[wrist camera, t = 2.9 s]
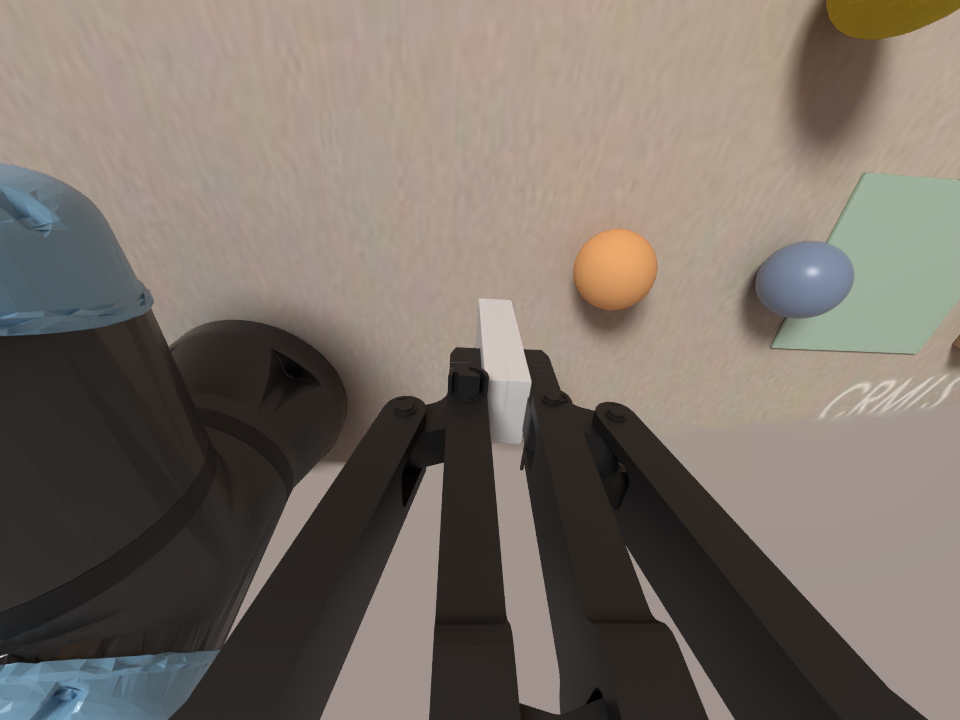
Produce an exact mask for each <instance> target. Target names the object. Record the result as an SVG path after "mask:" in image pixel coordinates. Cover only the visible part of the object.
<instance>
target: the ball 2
mask: <svg viewBox="0 0 960 720" xmlns="http://www.w3.org/2000/svg"><path fill="white" fill-rule="evenodd" d="M853 282H854V268H853V265H852V262H851V260H850V259H849V257H848V256H847V255H846V254H845V253H844V252H843V251H842V250H840V249H839V248H837V247H835V246H833V245H831V244H828V243H824V242H818V241H804V242H798V243H794V244H791V245H788V246H785V247H783V248H781V249H779V250H778V251H776V252H775V253H773V254H772V255H771V256H770V257H768V258H767V260H766V261H765V262H764V263H763V264H762V266H761V267H760V269H759V271H758V273H757V276H756V282H755V289H756V293H757V296H758V298H759V300H760V302H761V303H762V304H763V305H764V306H765V307H766V308H767V309H768V310H769V311H771V312H773V313H775V314H777V315H779V316H782V317H786V318H792V319H805V318H812V317H816V316H819V315H822V314H824V313H827V312H828V311H830V310H832V309H834V308H835V307H836V306H838V305H839V304H840V303H841V302H842V301H843V300H844V299H845V298H846V297H847V295H848V294H849V292H850V290H851V288H852V286H853Z"/></svg>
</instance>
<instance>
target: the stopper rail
mask: <svg viewBox="0 0 960 720" xmlns="http://www.w3.org/2000/svg"><path fill="white" fill-rule="evenodd" d="M953 345H955V346H957V347H959V348H960V336H959V337H958V338H957V340H956V341H955V342H954V343H953Z"/></svg>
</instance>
